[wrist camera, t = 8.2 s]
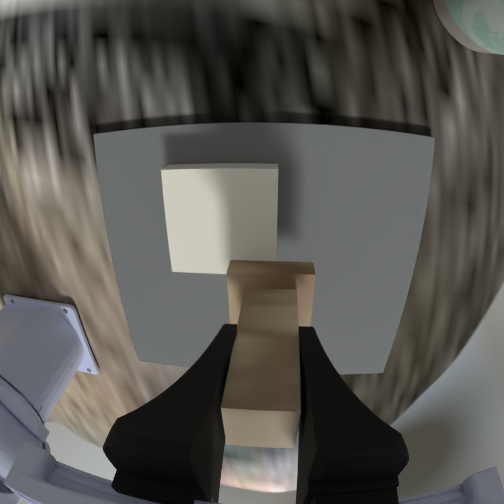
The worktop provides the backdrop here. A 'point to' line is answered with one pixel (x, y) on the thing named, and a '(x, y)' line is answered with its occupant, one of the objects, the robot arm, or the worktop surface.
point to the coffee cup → (474, 23)
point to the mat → (288, 230)
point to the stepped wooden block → (266, 351)
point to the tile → (220, 214)
